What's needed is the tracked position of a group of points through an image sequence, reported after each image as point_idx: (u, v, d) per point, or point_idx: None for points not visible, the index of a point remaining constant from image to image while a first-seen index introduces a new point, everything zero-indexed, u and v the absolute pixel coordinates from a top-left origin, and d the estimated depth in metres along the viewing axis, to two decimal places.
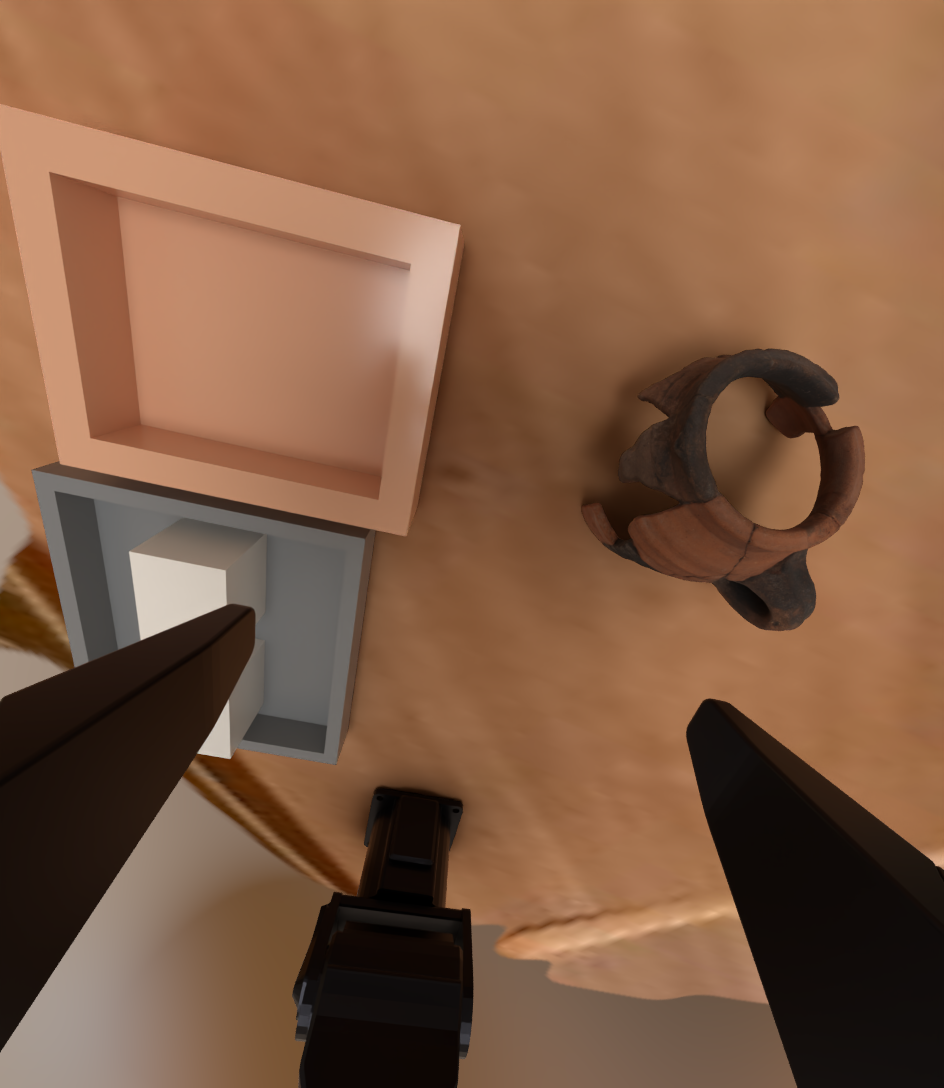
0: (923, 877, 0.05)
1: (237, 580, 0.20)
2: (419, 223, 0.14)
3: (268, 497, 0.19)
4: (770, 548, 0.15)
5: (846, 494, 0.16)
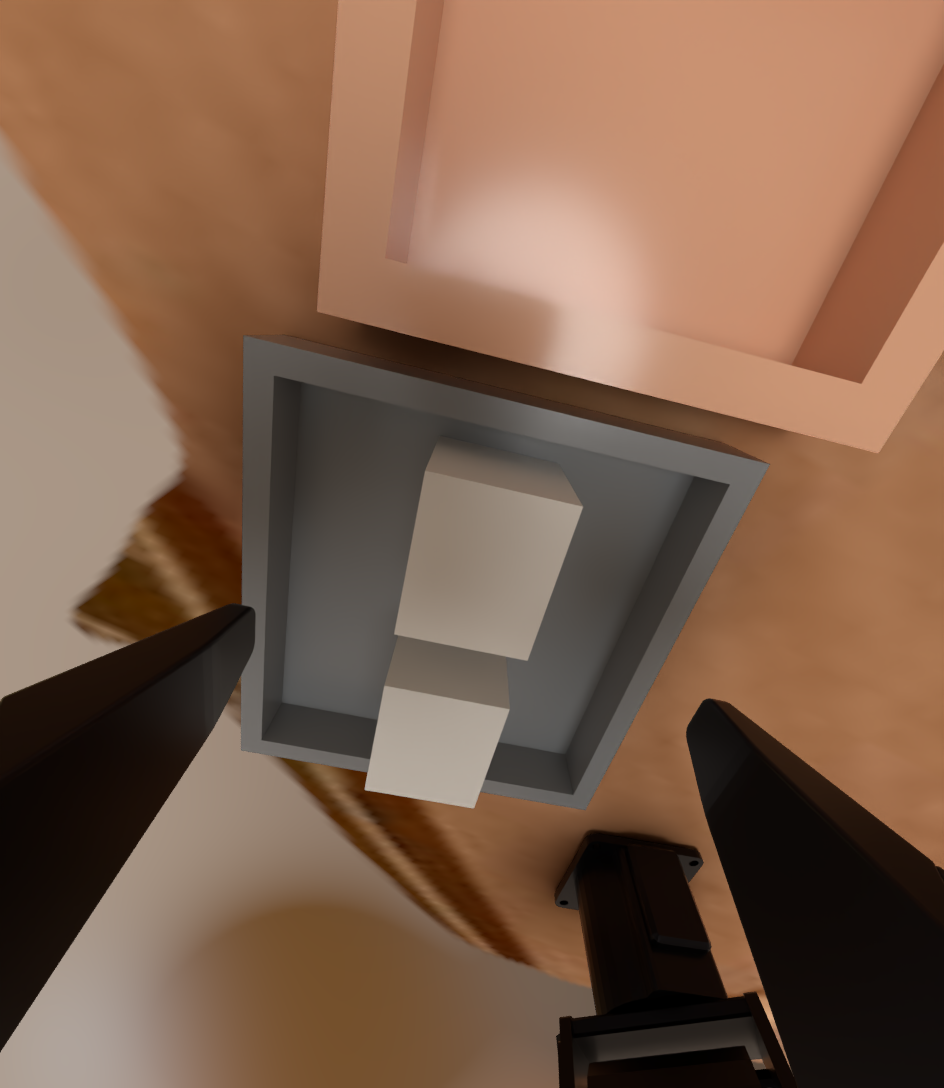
0: (923, 877, 0.05)
1: None
2: None
3: (668, 379, 0.11)
4: None
5: None
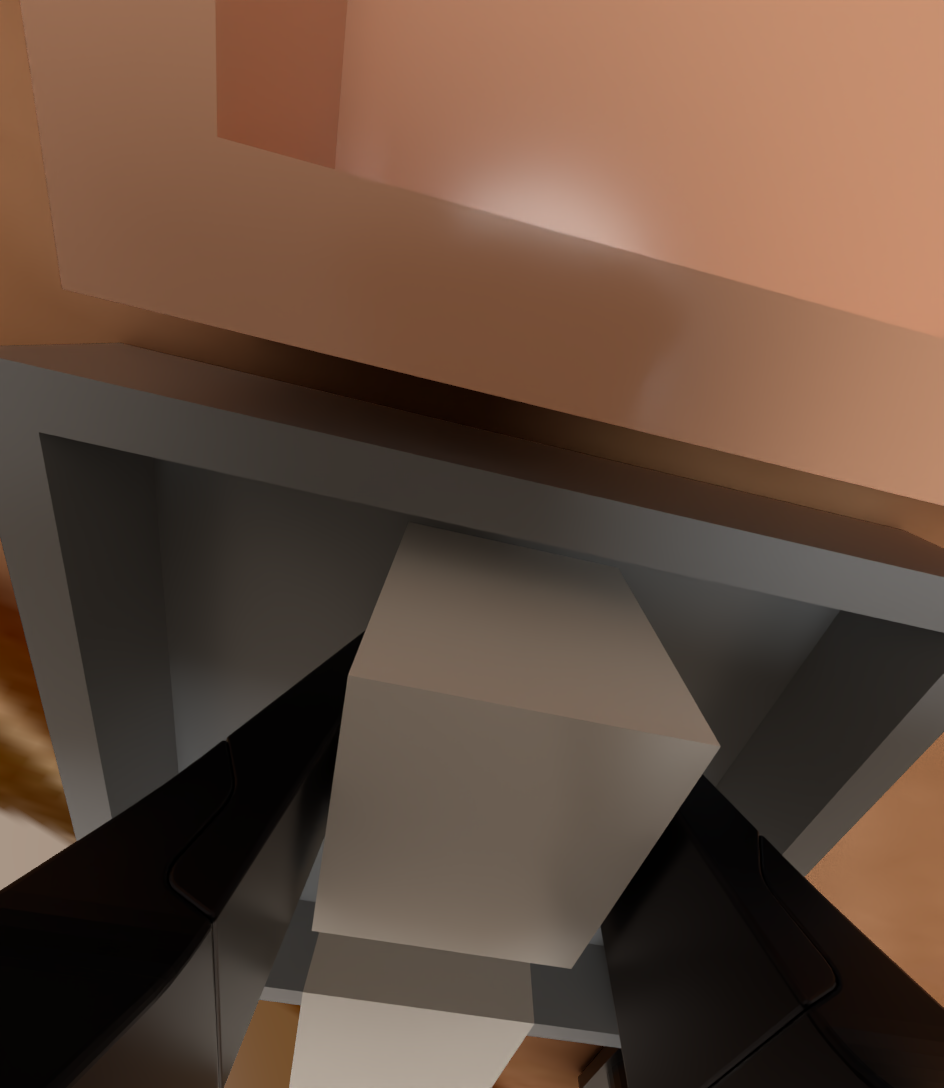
0: (738, 845, 0.05)
1: None
2: None
3: (934, 454, 0.04)
4: None
5: None
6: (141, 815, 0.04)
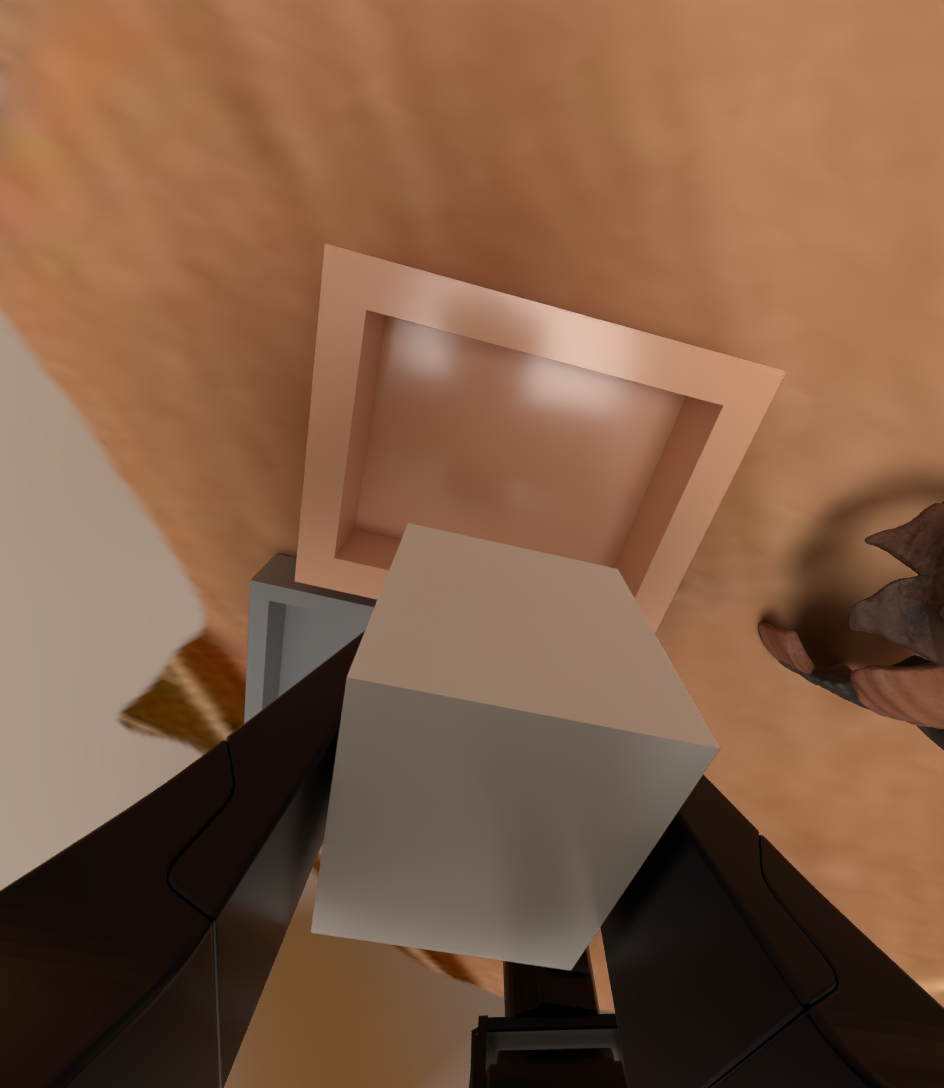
0: (738, 845, 0.05)
1: None
2: (744, 368, 0.14)
3: None
4: None
5: None
6: (141, 815, 0.04)
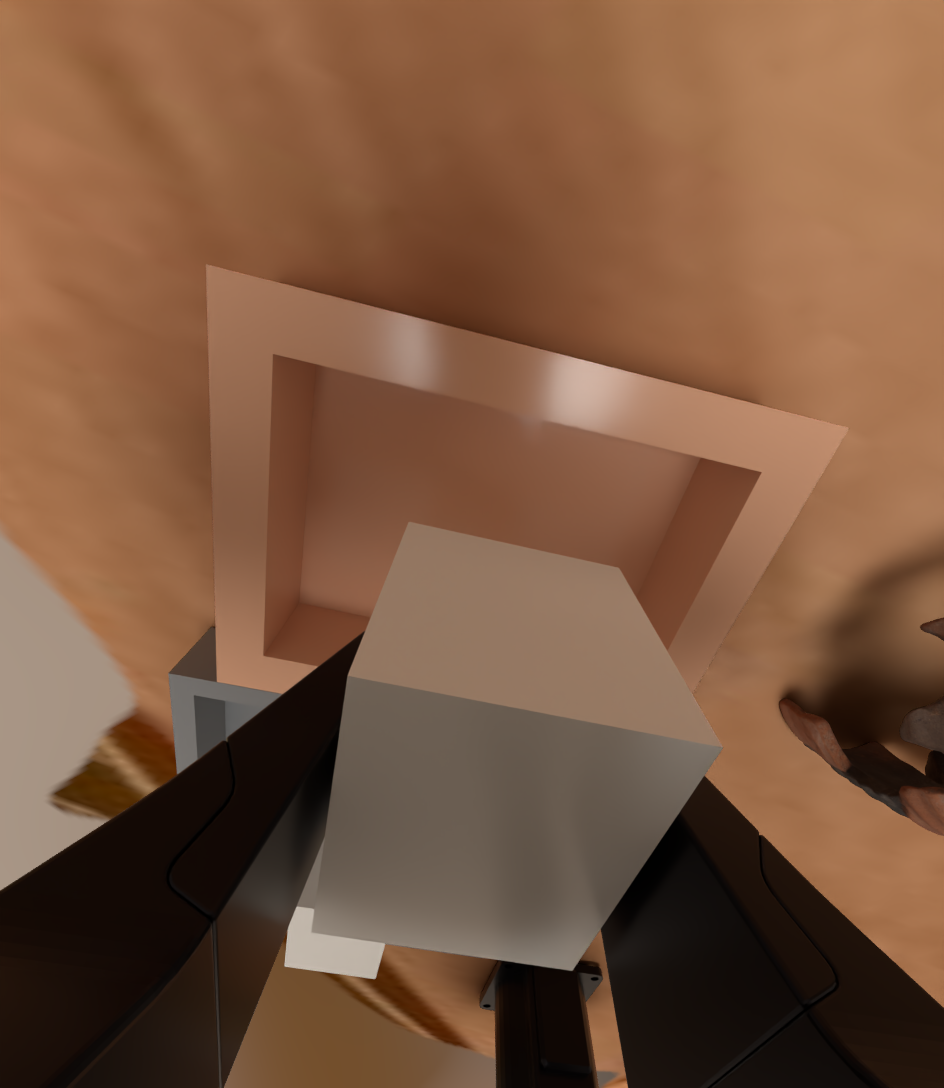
0: (737, 845, 0.05)
1: None
2: (792, 425, 0.10)
3: None
4: None
5: None
6: (141, 815, 0.04)
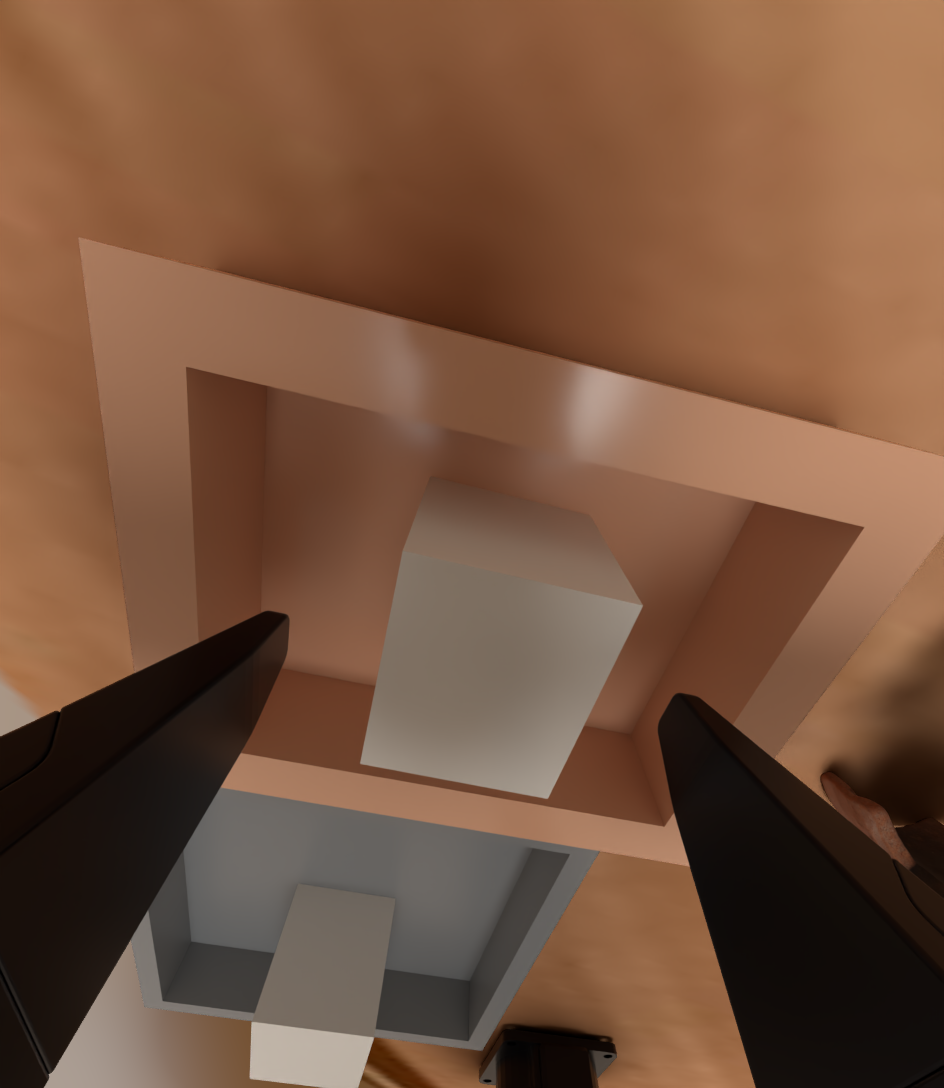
0: (877, 869, 0.05)
1: None
2: (913, 465, 0.07)
3: (484, 820, 0.11)
4: None
5: None
6: None
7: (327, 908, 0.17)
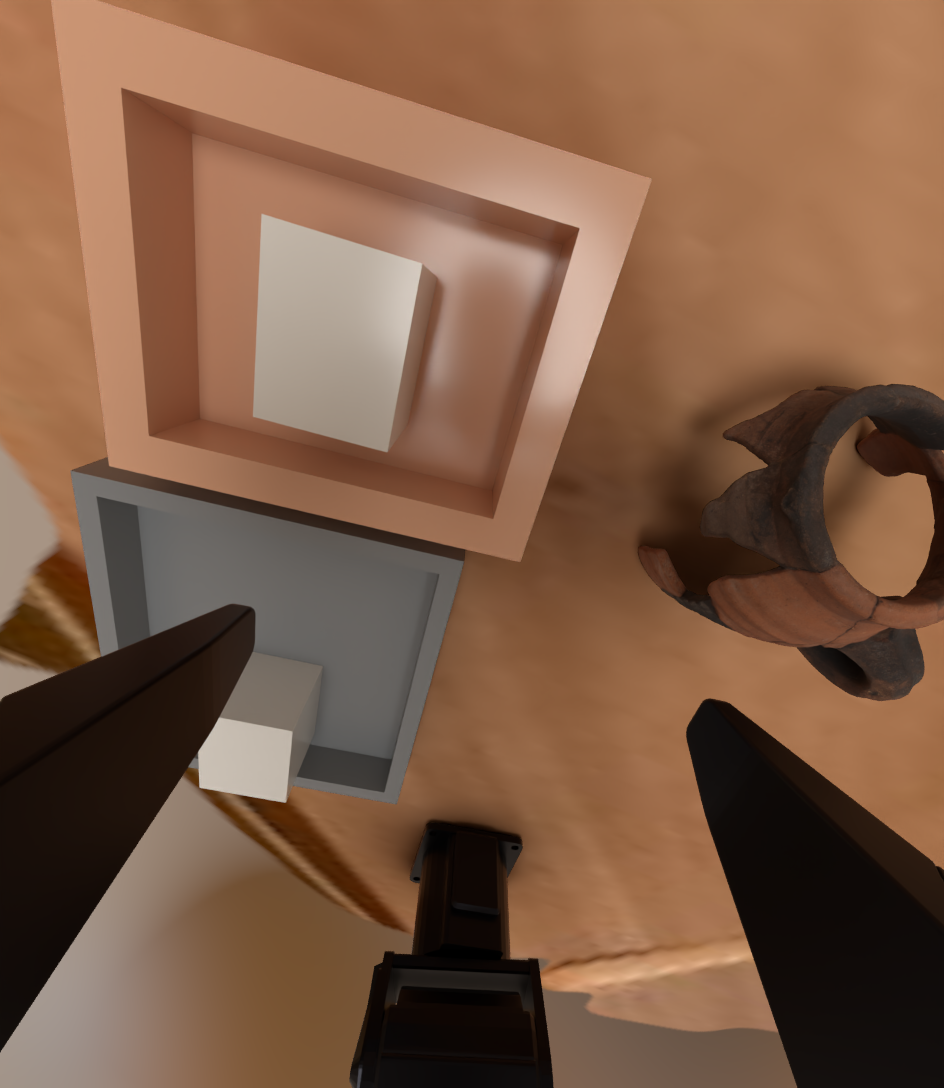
0: (923, 877, 0.05)
1: (418, 312, 0.13)
2: (600, 174, 0.11)
3: (360, 513, 0.15)
4: (894, 625, 0.13)
5: None
6: None
7: (265, 665, 0.22)
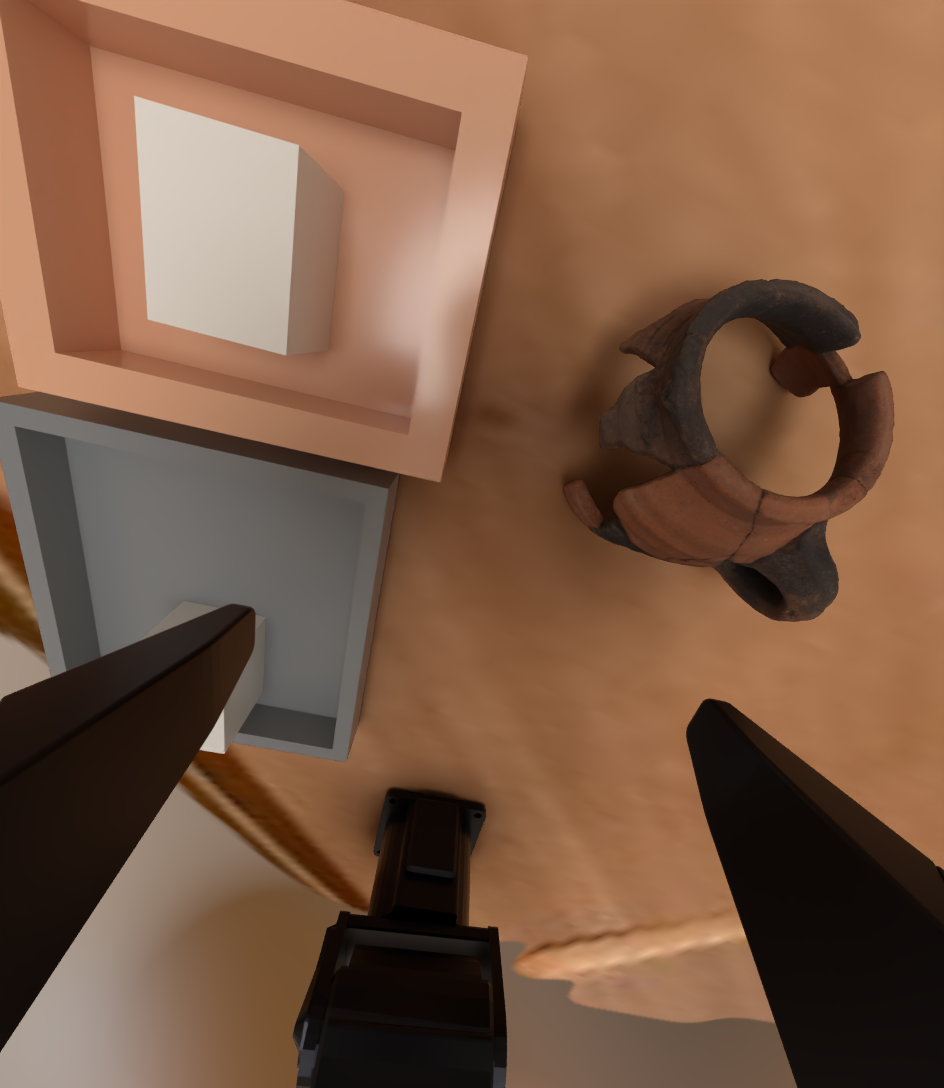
0: (923, 877, 0.05)
1: (309, 208, 0.12)
2: (475, 53, 0.11)
3: (274, 431, 0.15)
4: (783, 519, 0.12)
5: (874, 452, 0.13)
6: None
7: None
